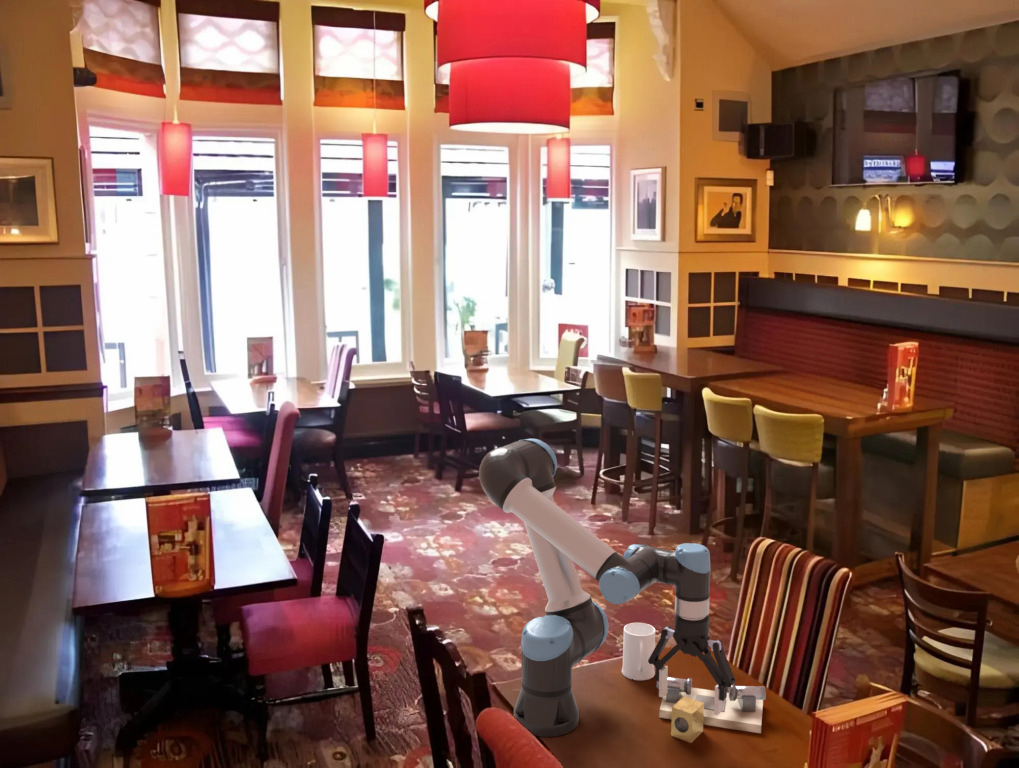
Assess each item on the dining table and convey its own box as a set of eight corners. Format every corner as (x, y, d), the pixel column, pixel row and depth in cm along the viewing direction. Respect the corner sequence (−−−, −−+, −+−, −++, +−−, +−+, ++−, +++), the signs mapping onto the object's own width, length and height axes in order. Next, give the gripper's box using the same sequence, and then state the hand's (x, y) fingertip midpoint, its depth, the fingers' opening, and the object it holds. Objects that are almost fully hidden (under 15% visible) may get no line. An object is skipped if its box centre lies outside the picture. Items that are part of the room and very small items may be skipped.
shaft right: (731, 711, 215) (732, 690, 214) (727, 700, 220) (728, 679, 219) (766, 712, 214) (767, 690, 213) (761, 701, 219) (762, 680, 218)
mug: (655, 688, 230) (657, 642, 228) (621, 685, 231) (622, 640, 229) (654, 666, 241) (655, 622, 239) (621, 664, 242) (622, 621, 240)
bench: (659, 717, 216) (659, 708, 215) (666, 691, 228) (666, 683, 228) (760, 733, 209) (761, 724, 209) (762, 705, 221) (763, 697, 221)
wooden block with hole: (690, 743, 205) (692, 714, 204) (670, 736, 208) (671, 707, 207) (703, 731, 210) (704, 702, 209) (683, 724, 213) (684, 696, 212)
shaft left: (655, 700, 220) (656, 679, 219) (658, 690, 224) (659, 669, 223) (689, 705, 217) (690, 684, 216) (691, 695, 222) (692, 674, 221)
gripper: (752, 621, 200) (749, 713, 203) (650, 596, 215) (649, 681, 218) (738, 633, 194) (735, 727, 197) (634, 606, 209) (633, 694, 212)
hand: (690, 703), depth 208 cm, fingers open, 13 cm apart
